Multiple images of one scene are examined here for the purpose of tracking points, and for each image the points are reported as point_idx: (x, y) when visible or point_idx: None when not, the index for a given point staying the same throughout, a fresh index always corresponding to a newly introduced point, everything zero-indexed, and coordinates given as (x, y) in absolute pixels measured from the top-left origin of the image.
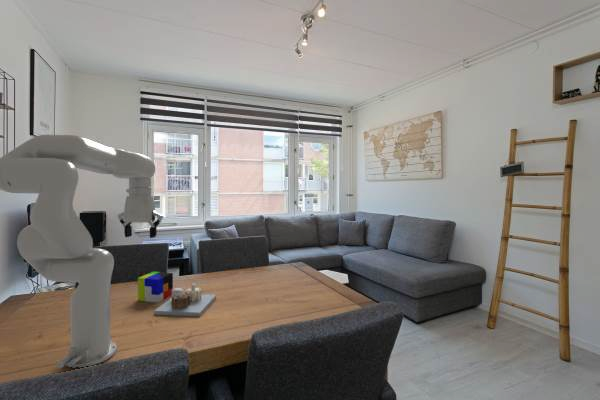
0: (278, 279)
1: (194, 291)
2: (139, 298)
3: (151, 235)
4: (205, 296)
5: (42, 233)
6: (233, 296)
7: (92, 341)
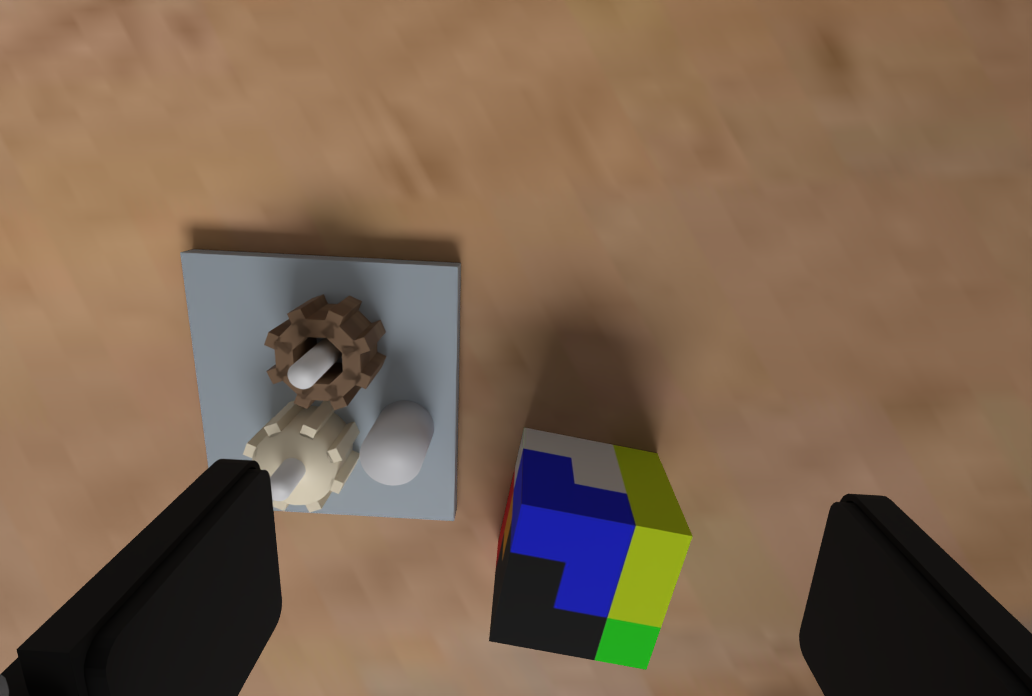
0: None
1: (272, 445)
2: (649, 457)
3: (197, 490)
4: None
5: None
6: (139, 521)
7: None
